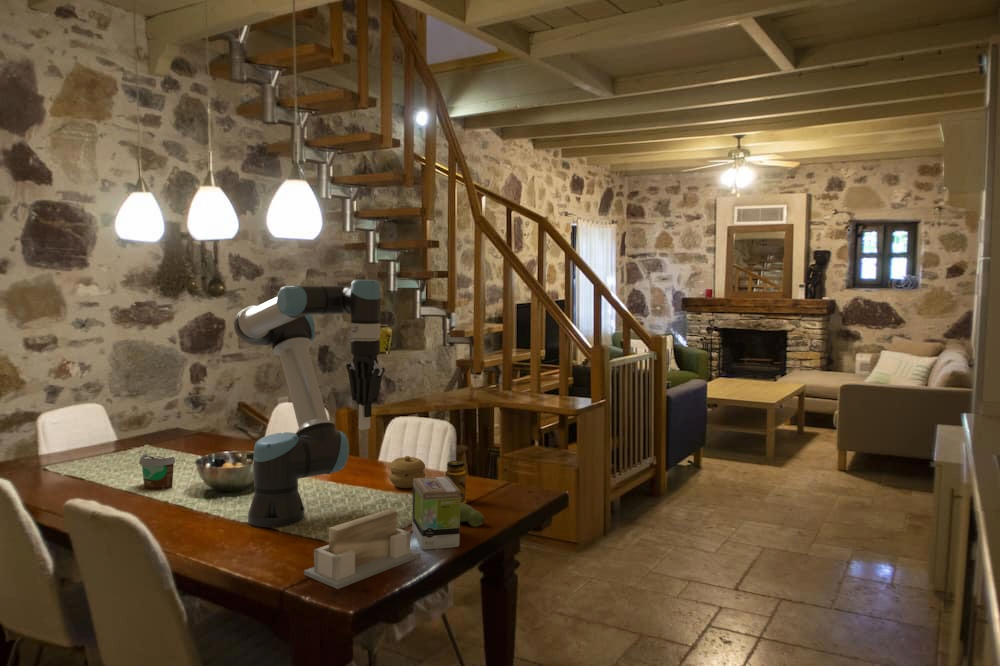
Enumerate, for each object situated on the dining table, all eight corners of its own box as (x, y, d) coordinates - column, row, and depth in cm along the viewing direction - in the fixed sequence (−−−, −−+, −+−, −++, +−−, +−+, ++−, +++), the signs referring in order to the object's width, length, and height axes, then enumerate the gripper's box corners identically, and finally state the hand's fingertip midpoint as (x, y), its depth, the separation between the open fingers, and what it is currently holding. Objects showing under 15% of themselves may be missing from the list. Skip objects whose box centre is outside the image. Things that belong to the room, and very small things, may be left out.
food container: (130, 488, 236) (130, 457, 235) (146, 483, 241) (146, 452, 240) (160, 492, 231) (159, 461, 230) (175, 487, 237) (175, 456, 236)
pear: (459, 498, 211) (489, 509, 206) (456, 515, 212) (486, 527, 207) (448, 503, 206) (479, 515, 201) (445, 521, 207) (475, 533, 202)
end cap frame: (303, 574, 169) (303, 548, 169) (386, 545, 189) (386, 522, 188) (337, 589, 162) (337, 562, 161) (420, 556, 181) (420, 532, 181)
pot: (431, 488, 241) (432, 457, 240) (399, 493, 234) (399, 462, 233) (414, 479, 250) (414, 450, 249) (382, 484, 243) (382, 454, 243)
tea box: (461, 547, 188) (461, 489, 187) (421, 551, 185) (422, 492, 184) (448, 528, 202) (448, 474, 201) (411, 531, 199) (411, 476, 198)
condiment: (470, 502, 226) (471, 463, 225) (446, 506, 221) (446, 467, 220) (458, 496, 232) (458, 458, 231) (434, 500, 227) (434, 461, 226)
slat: (329, 570, 169) (328, 527, 168) (388, 549, 183) (388, 509, 182) (337, 574, 167) (337, 530, 167) (396, 552, 181) (396, 511, 180)
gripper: (338, 338, 195) (337, 426, 197) (370, 342, 186) (369, 435, 188) (360, 336, 200) (359, 422, 202) (393, 340, 192) (391, 430, 194)
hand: (364, 428), depth 195 cm, fingers closed
